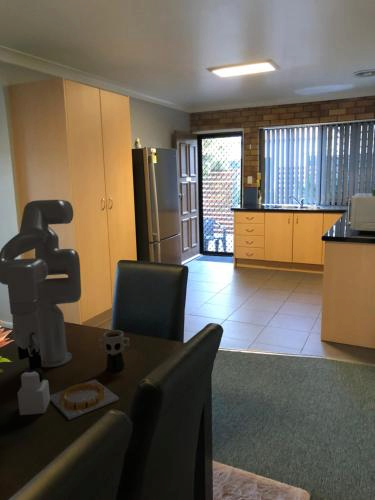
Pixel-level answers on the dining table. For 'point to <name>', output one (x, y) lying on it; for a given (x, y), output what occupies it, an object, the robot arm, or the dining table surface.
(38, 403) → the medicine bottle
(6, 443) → the dining table surface
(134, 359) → the dining table surface
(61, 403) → the white square ringed board
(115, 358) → the character mug
